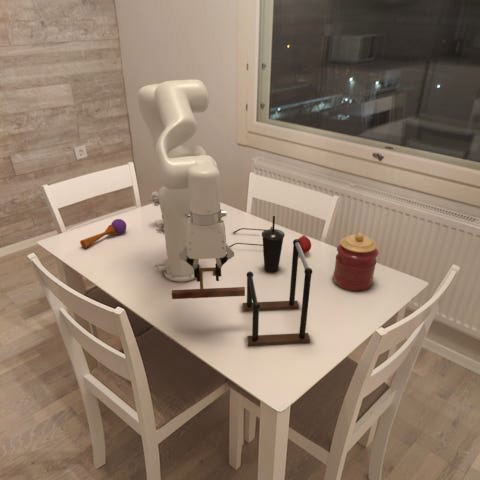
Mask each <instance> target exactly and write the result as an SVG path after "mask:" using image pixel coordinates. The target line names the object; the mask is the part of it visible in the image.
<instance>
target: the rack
mask: <svg viewBox="0 0 480 480" xmlns="http://www.w3.org/2000/svg"><path fill="white" fill-rule="evenodd" d="M298 239H299V238H294V239H293V240H292V245H293V246H292V260H291V270H290V271H291V272H290V273H291V274H290V284H289V285H290V288H289V297H288V298H289V300H278V301H276V300H275V301H258V297H257V293H256V292H257V291H256V289H255V283H254V272H252V271H247V273H246V302H242V306H241V307H242V312H252V331H251V333H252V334H251V335H247V337H246V338H247V346H248V347H255V346H257V347H258V346H275V345H297V344H298V345H299V344H310V343H311V338H310V335H309V332H307V331H306V330H307V321H308V320H307V319H308V309H309V301H310V293H311V280H312V274H313V269H312V268H311V267H310V266H309V264H308V261H307V259H306V256H305V254H303V251H302V249H301V246H300V241H299V240H298ZM299 258H300V261H301V263H302V266H303V268H304V280H303V290H302V302H301V311H300V312H301V313H300V323H299V331H298V332H296V333H277V334H259V323H260V322H259V321H260V320H259V319H260V312H263V311H264V312H265V311H287V310H299V309H300V305H299V301H298V300H296V290H297V289H296V288H297V276H298V264H299Z"/></svg>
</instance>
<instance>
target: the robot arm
mask: <svg viewBox="0 0 480 480" xmlns="http://www.w3.org/2000/svg"><path fill="white" fill-rule="evenodd" d="M137 102H138V103H137V104H138V109H139V112H140V115H141V117H142V119H143V121H144V124H145V125H146V127H147V129H148V131H149V134H150V137H151V140H152V148H153V152H154V157H155V162H156V168H157V171H158V174H159V176H160V179H161V181H162V184H163V186H161V187H160V188H159V190H158V191H157V192H158V200H159V204H160V205H159V209H160V211H161V218H162V217H163V219H162V221H163V223H164V231H163V232H164V240H165V250H166V260H164V261H154V268H157V271H163V275H164V277H165V278H166V279H167V280H170V281H173V282H178V283H179V282H183V283H184V282H189V281H192V280H195V279H196V281H197V282H198V283H200V273H199V268H201V266H200V264H199V260H204V259H205V260H209V259H211V260H212V259H213V260H215V264H214V267H216V276H215V281H217V282H219V281H220V279H219V278H220V277H222V268H223V266H224V265H225V264H226V263H227V262H228V261H229V260H231V259H232V258H233V257H235V252H234V250H233V249H232V248H231V247H229V246H230V245H229V244H227V234H226V233H227V232H226V225H225V220H224V217H227V210H223V209H221V177H220V176H221V175H220V174H221V173H220V170H219V167H218V164H217V161H215V159H214V158H213V157H212V156H211V155H208V154H207V152H206V150H205V149H204V148H203V147H202V146H200V145H195V144H194V145H183V144H184V143H186V142H188V141H190V140H191V139H192V138H193V137H194V136H195V134H196V133H197V127H198V124H197V120H196V118H195V116H194V114H198V113H204V112H206V110H207V109H208V107H209V104H210V103H209V102H210V97H209V91H208V89H207V87H206V85H205V83H203V82H202V81H201V80H200V79H176V80H166V81H163V82H161V83H152V84H148V85H145V86H142V87H141V88H140V89H139V90H138V92H137ZM186 213H190V215H189V216H190V218H188V217H187V216H186V215H185V214H186Z"/></svg>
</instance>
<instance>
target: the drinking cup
mask: <svg viewBox="0 0 480 480" xmlns="http://www.w3.org/2000/svg"><path fill="white" fill-rule="evenodd" d="M275 223H276V216H275V215H273V216H272V226H271V227H272V229H271V228H269V229H264V230H265V231H263V230H262V232H261V237H262V245H263V246H262V251H263V253H262V254H263V268H264V271H265V272H266V273H271V274H273V273H277V272H279V266H280V261H281V255H282V248H283V242H284V237H285V236H286V235H285V232H284V231H283V230H281V229H276V228H275V226H276V224H275Z"/></svg>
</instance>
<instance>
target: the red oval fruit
mask: <svg viewBox="0 0 480 480" xmlns="http://www.w3.org/2000/svg"><path fill="white" fill-rule="evenodd" d="M297 239H298V240H299V241H300V246H301V249H302V251H303V254H304V255H305V254H307V253H308V252H310V251H311V249H312V242H311V240H310V239H309V237H307V236H306V234H303V235H302V236H300V237H298V238H297Z"/></svg>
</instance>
